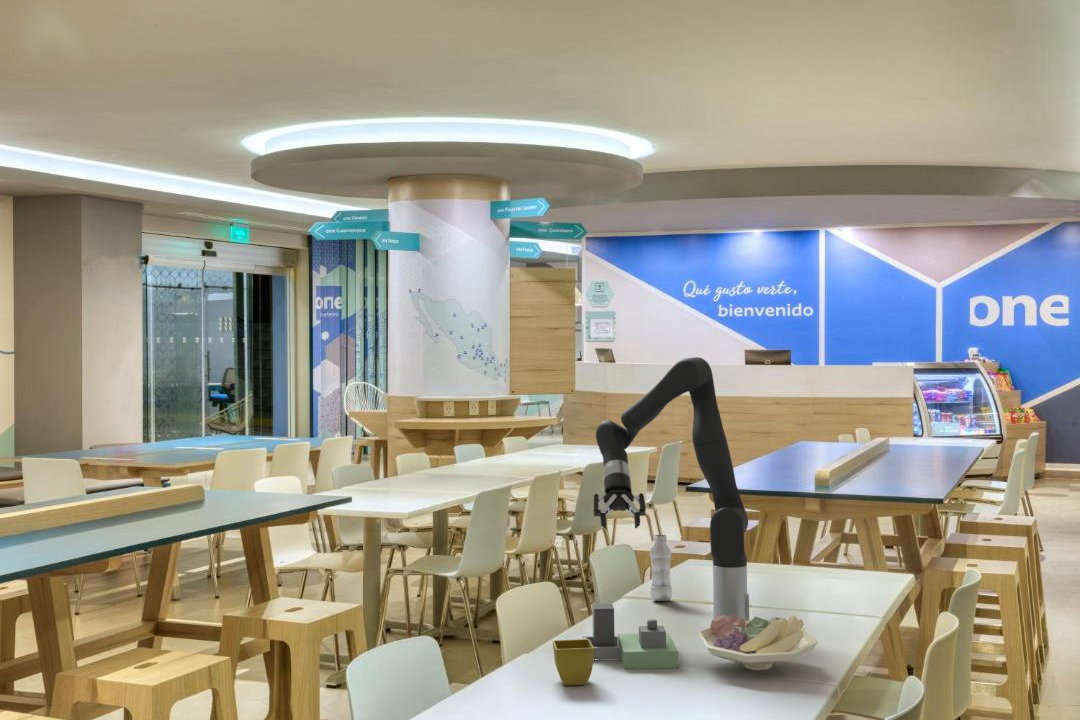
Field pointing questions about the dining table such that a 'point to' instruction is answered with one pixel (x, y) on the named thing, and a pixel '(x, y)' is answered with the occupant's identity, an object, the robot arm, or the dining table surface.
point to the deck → (641, 648)
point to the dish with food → (757, 640)
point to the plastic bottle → (660, 569)
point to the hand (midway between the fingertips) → (620, 526)
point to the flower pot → (573, 660)
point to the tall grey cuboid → (603, 625)
